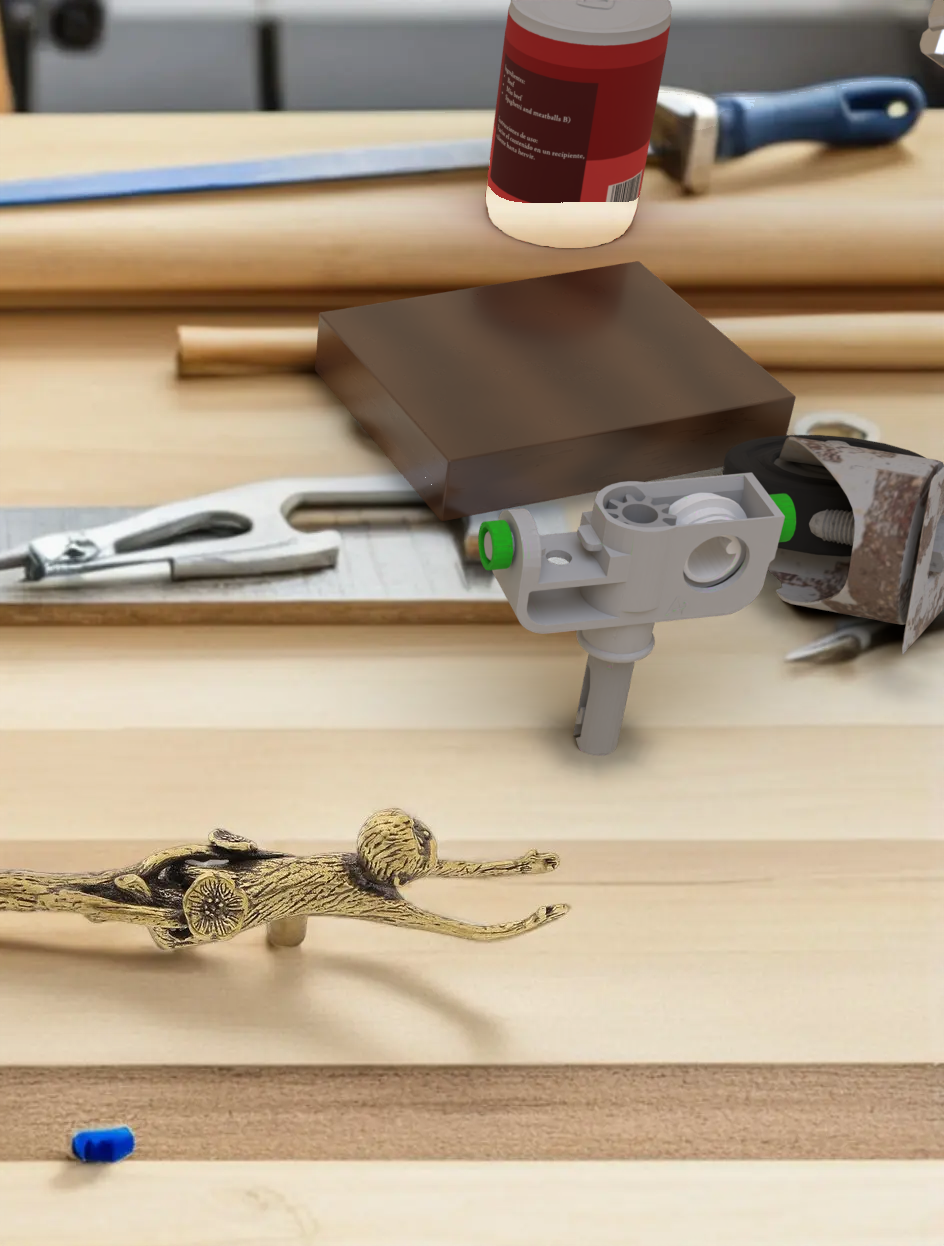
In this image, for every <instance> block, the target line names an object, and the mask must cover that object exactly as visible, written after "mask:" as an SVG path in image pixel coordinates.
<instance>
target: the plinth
mask: <svg viewBox="0 0 944 1246" xmlns="http://www.w3.org/2000/svg"><path fill="white" fill-rule="evenodd" d="M315 352H316V353H315V363H314V366H315V367H314V371H315V372H316V374H317V375H318V376H319V377H320V378H321V380H322V381H323V382H324V383H325V384H326V386H327V387H328V388H329V389H330V391H331V392H332V393H333V394H334V395H335V397H336V398H337V399H338V400H339V401H340V402H341V403H342V405H343V406H344V407H345V408H346V409H347V411H348V412H349V413H350V414H351V416H352V417H353V418H354V419H355V420H356V422H357V423H358V424H359V425H360V426H361V427H362V429H363V430H364V431H365V432H366V433H367V434H368V436H369V437H370V438H371V440H372V441H373V442H374V443H375V444H376V445H377V447H378V448H379V449H380V450H381V451H382V453H383V454H385V456H386V457H387V458H388V460H389V461H390V462H391V464H392V465H393V466H394V467H395V468H396V469H397V470H398V472H399V473H400V475H402V476H403V478H404V479H405V480H406V481H407V483H409V485H410V486H411V488H412V489H414V491H415V492H416V493H417V494H418V495H419V497H420V498H421V499H422V500H423V502H424V503H425V504H426V505H427V506H428V508H429V509H430V510H431V511H432V512H433V513H434V515H435V516H436V517H437V518H438V520H439V521H441V522H446V521H451V520H456V519H461V518H466V517H470V516H476V515H477V516H478V515H481V514H487V513H491V512H493V513H494V512H497V511H504V510H509V509H513V508H517V507H524V506H529V505H533V504H539V503H544V502H549V501H553V500H559V499H563V498H564V499H565V498H569V497H574V496H575V497H576V496H579V495H580V496H581V495H584V494H590V493H595V492H600V491H601V490H602V489H603V488H605V487H606V486H609V485H611V484H615V483H619V482H627V481H638V482H653V481H658V480H661V479H667V478H671V477H672V478H673V477H678V476H683V475H687V474H692V473H697V472H704V471H708V470H713V469H718V468H723V467H724V459H725V456H726V454H727V453H728V451H729V450H731V449H732V448H733V447H734V446H736V445H739V444H741V443H743V442H746V441H750V440H754V439H759V438H765V437H770V436H785V435H788V431H789V427H790V422H791V420H792V416H793V411H794V408H795V407H794V406H795V404H796V399H797V397H796V395H795V394H794V393H792V391H791V390H790V389H788V388H787V387H786V386H784V384H782V383H781V382H780V381H778V379H776V378H775V377H774V376H773V375H772V374H771V373H769V371H767V370H766V369H765V368H764V367H763V366H762V365H760V364H759V363H758V362H757V361H756V360H754V359H753V358H752V357H751V356H750V355H749V354H747V353H746V352H745V351H744V350H743V349H741V348H740V346H738V345H737V344H735V342H734V341H732V340H731V339H730V338H729V337H728V336H726V335H725V334H724V333H723V332H722V331H721V330H719V329H718V328H717V327H716V326H715V325H714V324H713V323H712V322H710V321H709V320H708V319H707V318H706V317H704V316H703V315H702V314H701V313H700V312H699V311H697V310H696V309H695V307H693V306H691V305H690V304H689V302H687V301H686V300H685V299H684V298H682V297H681V296H680V295H679V294H678V293H676V292H675V291H674V290H673V289H672V288H671V287H670V286H668V285H667V284H666V283H665V282H664V281H663V280H662V279H660V277H658V276H657V275H655V274H654V273H653V272H652V271H651V270H650V269H648V267H646V266H645V265H644V264H643V263H642V262H641V261H640V260H639V261H638V260H635V261H630V262H624V263H618V264H611V265H605V266H600V267H592V268H587V269H580V270H574V271H569V272H563V273H556V274H550V275H544V276H537V277H531V278H525V279H519V280H513V281H512V280H511V281H507V282H501V283H493V284H488V285H482V286H476V287H469V288H464V289H463V288H462V289H457V290H452V291H451V290H450V291H446V292H438V293H432V294H427V295H420V296H415V297H408V298H402V299H401V298H400V299H396V300H390V301H389V300H388V301H384V302H378V303H372V304H371V303H370V304H366V305H365V304H364V305H358V306H354V307H353V306H352V307H347V308H341V309H340V308H339V309H334V310H327V311H322V312H321V311H320V312H319V313H318V324H317V339H316V349H315ZM425 477H426V478H425ZM431 484H432V485H431Z"/></svg>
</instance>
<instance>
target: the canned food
mask: <svg viewBox="0 0 944 1246" xmlns="http://www.w3.org/2000/svg"><path fill="white" fill-rule="evenodd" d="M672 10H673V6H672V3H671V0H510V3H509V6H508V10H507V16H506V17H507V18H506V24H505V30H504V37H503V45H502V54H501V62H500V70H499V78H498V85H497V87H498V88H497V94H496V104H495V111H494V120H493V127H492V137H491V143H490V144H491V145H490V152H489V160H490V166H489V165H488V168H489V170H488V171H487V177H488V186H489V187H490V188H491V190H492V191H493V192H494V193H495V194H496V195H498V196H499V197H501V198H504V199H506V200H509V201H514V202H522V203H561V202H562V203H563V202H629V201H634V200H636V199H637V198H638V197H639V195H640V196H641V192H640V191H642V186H643V182H644V181H643V180H644V175H645V169H646V163H647V158H648V153H649V146H650V142H651V136H652V132H653V131H652V130H653V125H654V121H655V115H656V109H657V104H658V99H659V93H660V87H661V82H662V76H663V71H664V65H665V61H666V54H667V48H668V45H669V44H668V42H669V36H670V35H669V34H670V29H671V25H672V24H671V23H672ZM484 197H486V192H485V195H484ZM639 198H640V197H639Z"/></svg>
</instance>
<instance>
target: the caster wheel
mask: <svg viewBox="0 0 944 1246" xmlns="http://www.w3.org/2000/svg"><path fill="white" fill-rule="evenodd" d="M742 473H753V475H754V476H755V477H756V479H757V480H758V481H759V483H760V484H761V485H762V487H763V488H764V489H765V491H766V492H767V493H768V495H772V494H787V495H788V496H790V498H791V499H792V502H793V504H794V507H795V512H796V527H795V531H794V534H793V536H792V538H791V539H790V540H789V541H786V542H779V543H778V547H777V550H776V554H775V558H774V560H772V561H771V562H770V563H769V566H768V570H767V572H769V573H771V574H772V575H773V576H774V577H775V578H776V579H778V580H779V581H780V584H781V587H780V588H778V589H777V588H776V589H775V592H776V594H777V596H778V598H779V599H780V600H781V601H783V602H785V603H788V604H790V605H796V606H801V607H806V608H810V609H817V610H822V611H827V612H828V611H829V612H833V613H836V614H837V613H838V614H841V615H842V614H843V615H849V616H853V617H858V618H864V619H869V620H874V621H878V622H879V621H880V622H885V623H890V624H897V625H902V626H903V625H905V628H904V633H903V638H902V645H901V648H902V649H901V651H902V652H901V653H902V655H904V654H905V653H906V652H907V651H908V650H909V648H910V647H911V646H912V645H913V644H914V643H915V642H916V640H917V639H918V638H919V637H920V636H921V635H922V634H923V633H924V632H925V630H926V629H927V628H928V627H929V626H930V625H931V623H933V622H934V620H935V619H936V618H937V617H938V616H939V615H940V613H941V612H942V611H943V610H944V462H943V461H941V460H938V459H933V458H927V457H925V456H923V455H921V454H919V453H917V452H915V451H912V450H909V449H906V448H902V447H900V446H899V447H898V446H895V445H892V444H888V443H885V442H879V441H872V440H868V439H862V438H856V437H849V436H835V435H825V434H822V435H821V434H787V435H785V436H770V437H765V438H759V439H754V440H750V441H746V442H743V443H741V444H739V445H736V446H734V447H733V448H732V449H731V450H729V451H728V453H727V454H726V456H725V459H724V467H722V474H721V475H731V474H742Z"/></svg>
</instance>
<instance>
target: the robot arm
mask: <svg viewBox="0 0 944 1246" xmlns="http://www.w3.org/2000/svg"><path fill="white" fill-rule="evenodd" d="M927 23H928V28H927V29H926V30H925V31H923V32H922V35H921V38H920V41H919V49H920V52H921V53H922V54H924V55H925V56H926V57H927V58H929V59H931V61H933V62H935V63H936V64H937V65H938V66H940V67H942V68H943V69H944V0H933V1H932V3H931V8H930V10H929V14H928V16H927Z"/></svg>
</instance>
